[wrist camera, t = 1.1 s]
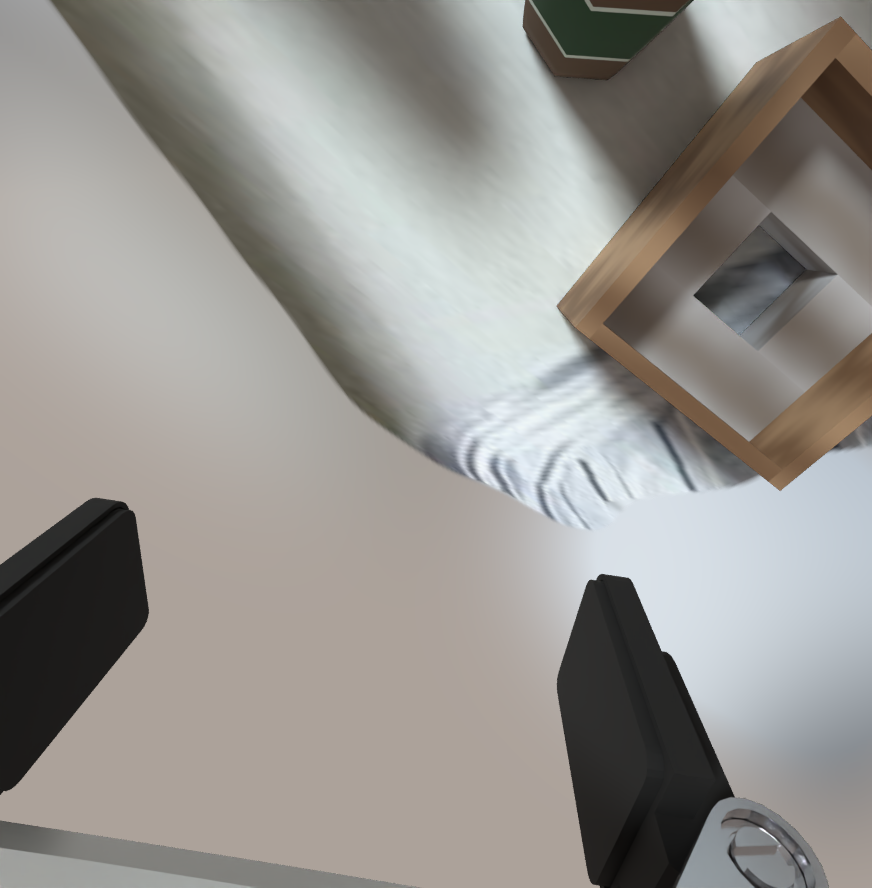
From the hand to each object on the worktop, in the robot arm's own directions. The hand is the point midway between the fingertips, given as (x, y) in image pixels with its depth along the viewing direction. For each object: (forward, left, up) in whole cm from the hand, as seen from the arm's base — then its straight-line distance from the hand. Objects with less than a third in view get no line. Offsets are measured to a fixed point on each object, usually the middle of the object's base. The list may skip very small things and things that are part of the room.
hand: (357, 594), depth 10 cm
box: (-14, +13, -26) cm, 33 cm away
